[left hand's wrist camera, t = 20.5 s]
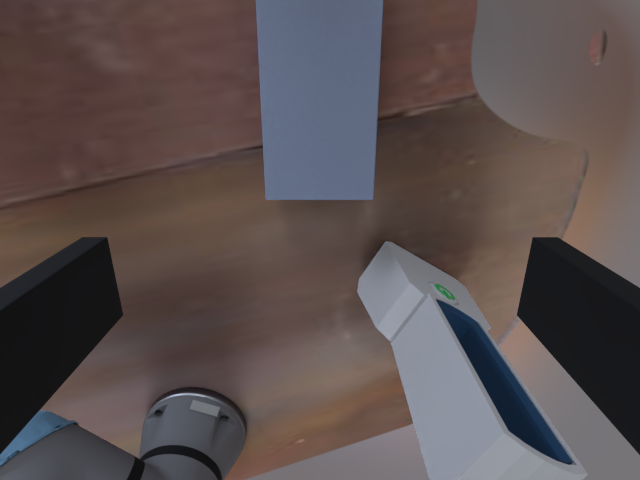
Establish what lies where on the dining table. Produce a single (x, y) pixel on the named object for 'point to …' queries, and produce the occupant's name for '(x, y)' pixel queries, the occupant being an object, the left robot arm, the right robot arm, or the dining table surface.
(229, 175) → the dining table surface
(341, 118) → the cabinet
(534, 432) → the electronic device
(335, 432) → the dining table surface
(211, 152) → the dining table surface
